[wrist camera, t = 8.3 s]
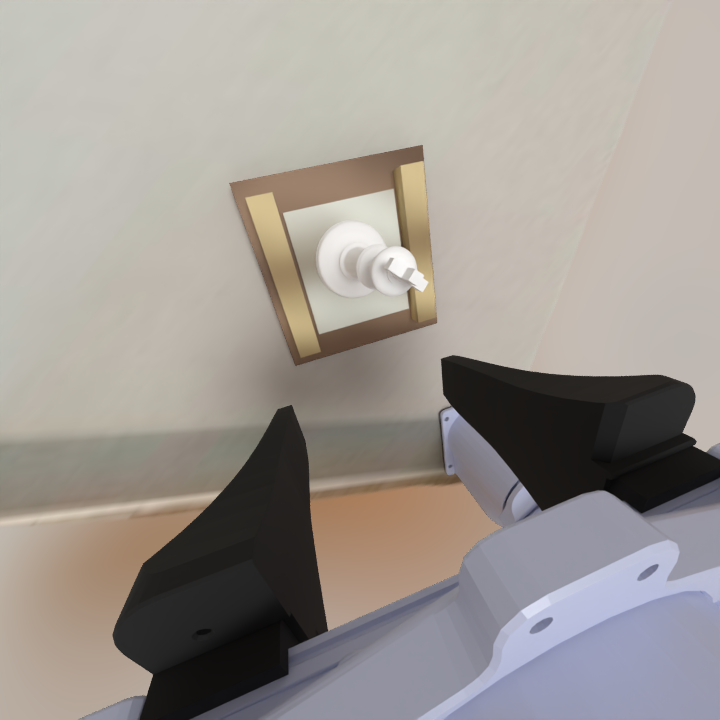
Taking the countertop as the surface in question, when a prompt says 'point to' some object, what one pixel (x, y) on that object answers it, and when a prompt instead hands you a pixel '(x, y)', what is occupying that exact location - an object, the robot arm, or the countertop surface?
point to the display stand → (307, 226)
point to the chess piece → (364, 262)
